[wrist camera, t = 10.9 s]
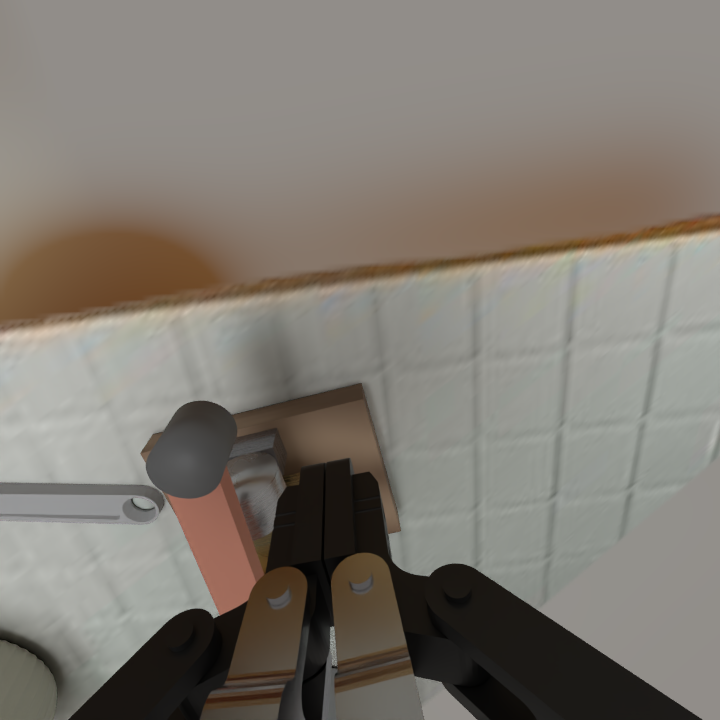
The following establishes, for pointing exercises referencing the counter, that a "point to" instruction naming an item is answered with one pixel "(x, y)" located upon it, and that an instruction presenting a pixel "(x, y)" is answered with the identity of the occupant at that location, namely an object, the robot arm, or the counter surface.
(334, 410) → the mounting board
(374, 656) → the robot arm
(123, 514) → the adjustable wrench
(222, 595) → the valve lever
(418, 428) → the counter surface
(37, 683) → the canister
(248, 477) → the pipe valve
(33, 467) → the counter surface
